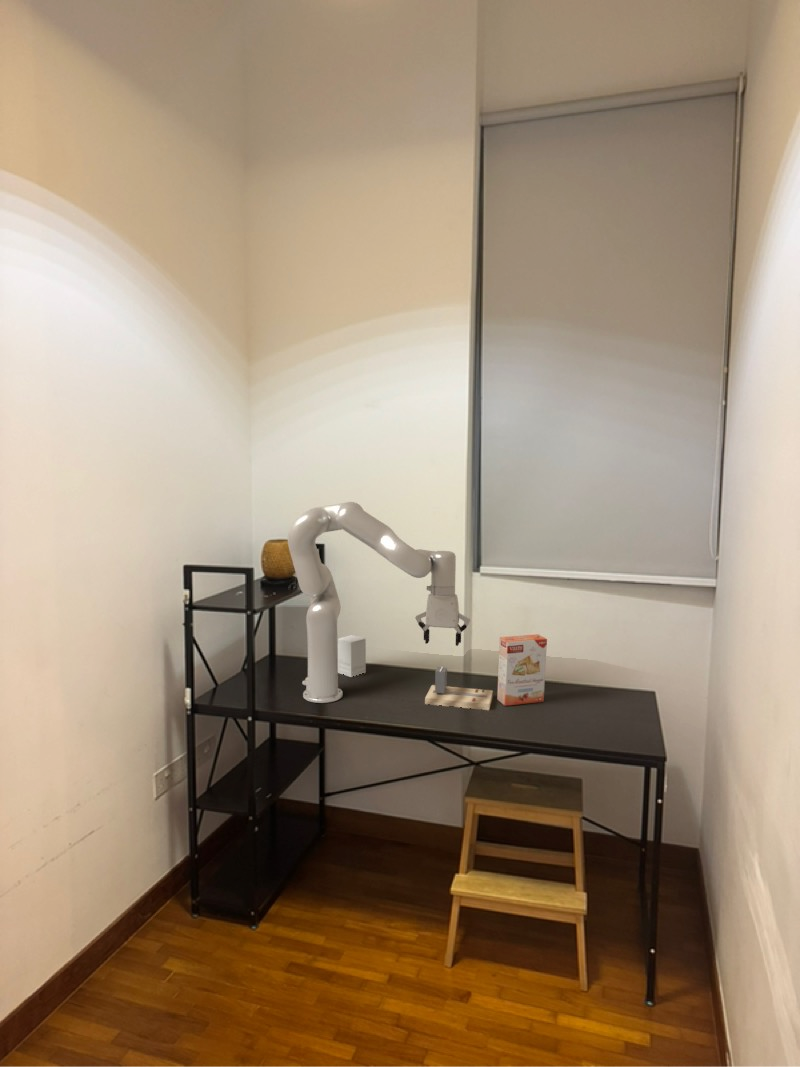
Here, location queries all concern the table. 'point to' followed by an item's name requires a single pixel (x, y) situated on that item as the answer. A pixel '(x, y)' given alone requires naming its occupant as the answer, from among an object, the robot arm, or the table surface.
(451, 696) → the board
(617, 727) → the table surface
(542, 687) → the cracker box
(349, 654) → the supplement box
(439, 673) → the fader tab
